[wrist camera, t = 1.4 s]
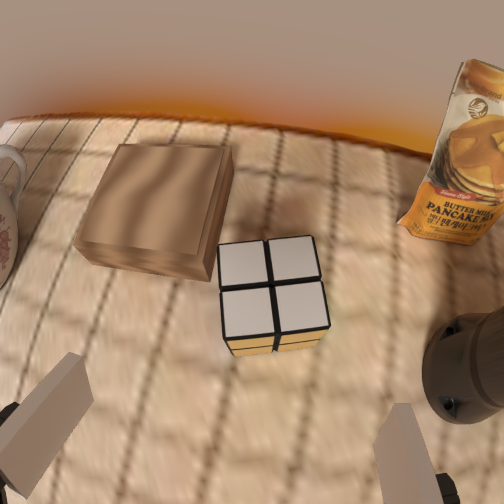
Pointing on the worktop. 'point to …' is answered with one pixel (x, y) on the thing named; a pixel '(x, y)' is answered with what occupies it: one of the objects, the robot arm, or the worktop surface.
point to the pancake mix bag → (464, 162)
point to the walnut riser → (159, 210)
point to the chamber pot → (10, 213)
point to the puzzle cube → (271, 295)
